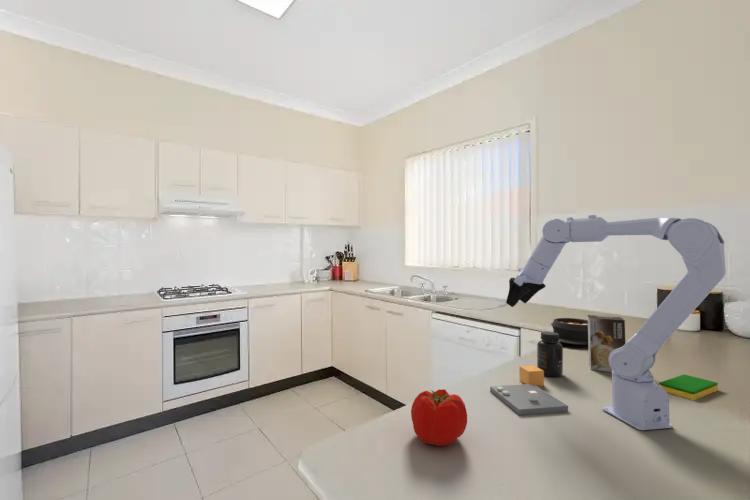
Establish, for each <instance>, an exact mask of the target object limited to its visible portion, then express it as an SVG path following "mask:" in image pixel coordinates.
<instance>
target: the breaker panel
mask: <svg viewBox="0 0 750 500" xmlns="http://www.w3.org/2000/svg"><path fill="white" fill-rule="evenodd" d="M528 391H536V392H537V393H538V400H536V401H531V400H529V399H528ZM489 392H490V393H492V394H493V395H495V397H497V398H498V399H499V400H500V401H502V403H504V404H505V405H507V406H508V407H509V408H510V409H511V410H512V411H514V412H515V413H516V414H517V415H518V416H523V415H534V414H535V415H536V414H549V413H551V414H552V413H562V412H563V413H565V412H569V405H567V404H566V403H564V402H562V401H561V400H559V399H558V398H557V397H554V396H553V395H552V394H550V393H549V392H546V390H543V389H542V388H540V387H539V386H535V385H534V384H524V383H522V384H511V385H510V384H509V385H506V384H505V385H494V386H489Z"/></svg>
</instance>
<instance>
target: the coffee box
mask: <svg viewBox="0 0 750 500" xmlns="http://www.w3.org/2000/svg"><path fill="white" fill-rule="evenodd" d="M587 320H588V345H587V346H588V349H587V350H588V352H587V353H588V366H589V368H590V370H591V371H598V372H599V371H600V372H607V373H612V369H611V367H610V365H609V361H608V359H609V355H610V353H611V352H612V351H613V350H615V349H618V348H621V347H622V346H624V345H625V344H626V322H625V321H626V320H625V319H624V318H622V317H621V316H611V315H610V316H609V315H608V316H607V315H594V314H587Z"/></svg>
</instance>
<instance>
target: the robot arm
mask: <svg viewBox="0 0 750 500" xmlns="http://www.w3.org/2000/svg"><path fill="white" fill-rule="evenodd" d="M609 236H652V237H654V238H657V239H659V240H662V241H668V242H669V243H670V245H671V246H672V247H673V248H674V249H675V251H676V252H677V253H679V254H680V256H681V257H682V258H681V259H682V260H683V263H684V265H685V267H686V269H687V272H686V274H685V275H684V276H683V277H682V279H681V280H679V282H678V283H677V284H676V285H675V287H674V288H673V289H672V290H671V291H670V292H669V294H668V295H667V296H666V298H665V299H664V300H663V301H662V302H661V303H660V304H659V306H658V307H657V309H655V310H654V312H653V313H652V314H651V315H650V317H649V318H648V319H647V320H646V321H645V322H644V324H642V326H641V327H640V328H639V330H638V331H636V333H635V334H633V336H631V338H629V339H628V340H627V341H626V342H625V345H624V346H622V347H621V348H618V349H615V350H613V351H612V352H611V353H610V355H609V359H608V361H609V365H610V367H611V369H612V372H611V399H612V401H611V406H603V407H602V408H601V409H602V411H604V412H606V413H608V414H610V415H611V416H613V417H615V418H617V419H618V420H620V421H622V422H624V423H626V424H627V425H629V426H632V427H633V428H635V429H636V430H639V431H649V430H661V429H670V428H673V427H674V425H673V424H671V423H670V396H669V393H667V391H666V390H665V389H664V388H662V387H660V386H659V385H660V384H659V385H658V383H657V382H656V381H655V380H654V374H653V373H652V372H651V370H650V369H651V368H653V367H654V365H655V363H656V355H657V354H658V353H659V352H660V350H661V349H662V347H663V346H664V344H665V343H666V342H667V341H668V340H669V339H670V338H671V337H672V336H673V334H674V333H675V332H676V331H677V330H678V329H679V328H680V327H681V326H682V324H684V322H685V321H686V320H687V319H688V318H689V317H690V316H691V314H692V313H693V312H695V310H696V309H697V308H698V307H699V305H700V304H701V303H702V302H703V301H704V300H705V298H707V297H708V295H709V294H710V293H711V292H712V291H713V290H714V289H715V288H716V286H718V284H719V283H720V282H721V281H722V280H723V279H724V277H725V276H726V271H727V270H726V258H725V257H726V256H725V255H726V254H725V240H724V238H723V236H722V235H721V233H720V231H719V229H717V227H716V226H715V225H713V224H712V223H710V222H707V221H705V220H702V219H699V218H693V217H691V218H689V217H688V218H687V217H686V218H683V219H682V218H678V217H677V218H676V217H650V218H649V217H648V218H641V219H640V218H639V219H629V220H617V221H607V220H606V219H604V218H603V217H601V216H597V215H596V214H589V215H588V217H585V218H584V217H581V218H573V217H566V220H562V219H559V218H554V219H550V220H549V221H547V222H545V224H544V225H543V227H542V236H541V238H540V240H539V241H538V243H537V245H535V248H534V250H532V251H533V252H532V253H531V254H530V257H529V258H528V260H527V261H526V264H525V265H524V267H518V268H517V271H518V272H519V274H518V275H516V276H515V277H510V279H509V280H508V283H509V287H508V293H507V297H506V302H505V303H506V304H507V305H508V306H510V307H511V308H514V307H515V306H517V304H518V302H519V301H521V302H522V303H523V304H526V303H527V302H529V301H530V300H531V299H532V298H533V297H534V296H535V295H536V294H537V293H538V292H539V291H541V290H543V289H545V288H546V287H547V285H546V284H545V283H544V281H545V279H546V277H547V275H548V274H549V273H550V270H551V269H552V267H553V265H554V264H555V262H556V261H557V259H558V257H559V256H560V253H561V252H562V250H563V249H564V247H565V246H566V245H567V243H570V242H571V243H590V242H593V243H595V242H598V243H599V242H603V241H604V240H605V239H606V238H608V237H609Z"/></svg>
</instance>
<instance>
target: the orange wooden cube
mask: <svg viewBox="0 0 750 500" xmlns="http://www.w3.org/2000/svg"><path fill="white" fill-rule="evenodd" d="M518 368H519V370H518V371H519V372H518V373H519V375H518V376H519V381H520V382H521V383H522V384H534V385H535V386H537V387H540V386H541V387H542V386H543V387H544V386H545V375H544V371H543V370H541V369H540V368H538V367H537V365H536V366H535V365H519V367H518Z"/></svg>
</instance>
